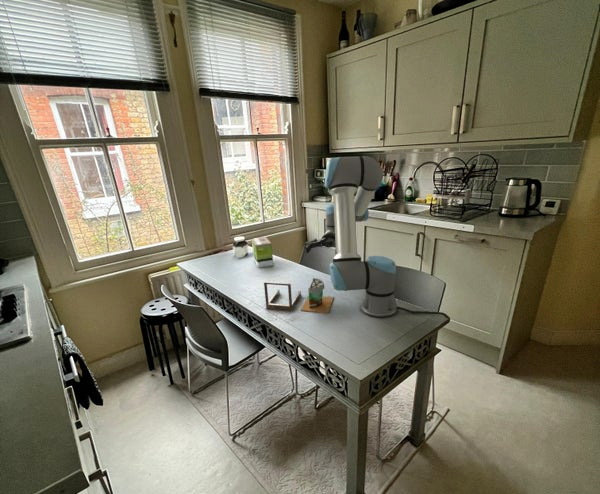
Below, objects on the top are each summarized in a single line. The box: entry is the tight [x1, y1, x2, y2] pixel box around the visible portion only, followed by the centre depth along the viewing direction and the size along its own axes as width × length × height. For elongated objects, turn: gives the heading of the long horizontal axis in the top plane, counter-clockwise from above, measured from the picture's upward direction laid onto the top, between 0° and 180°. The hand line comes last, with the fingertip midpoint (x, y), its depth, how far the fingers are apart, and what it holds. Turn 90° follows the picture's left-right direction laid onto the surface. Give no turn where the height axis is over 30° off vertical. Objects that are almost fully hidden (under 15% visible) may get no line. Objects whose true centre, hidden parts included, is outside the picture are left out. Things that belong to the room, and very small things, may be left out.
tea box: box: [251, 236, 274, 268], centre depth 197 cm, size 15×10×15 cm, turn 17°
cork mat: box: [300, 296, 334, 314], centre depth 144 cm, size 12×15×1 cm
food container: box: [307, 277, 325, 308], centre depth 142 cm, size 12×6×10 cm, turn 168°
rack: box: [263, 281, 302, 312], centre depth 145 cm, size 12×16×13 cm
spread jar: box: [232, 236, 250, 259], centre depth 214 cm, size 12×11×12 cm
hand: (321, 251), depth 144 cm, fingers open, 13 cm apart
